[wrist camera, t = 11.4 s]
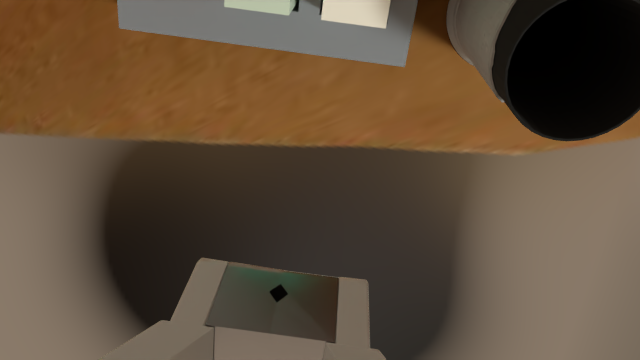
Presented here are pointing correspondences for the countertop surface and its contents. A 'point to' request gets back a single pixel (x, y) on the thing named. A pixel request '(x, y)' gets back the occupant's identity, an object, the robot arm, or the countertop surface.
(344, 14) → the key
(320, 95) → the countertop surface
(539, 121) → the grey black ceramic vase
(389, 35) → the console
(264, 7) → the key mid
